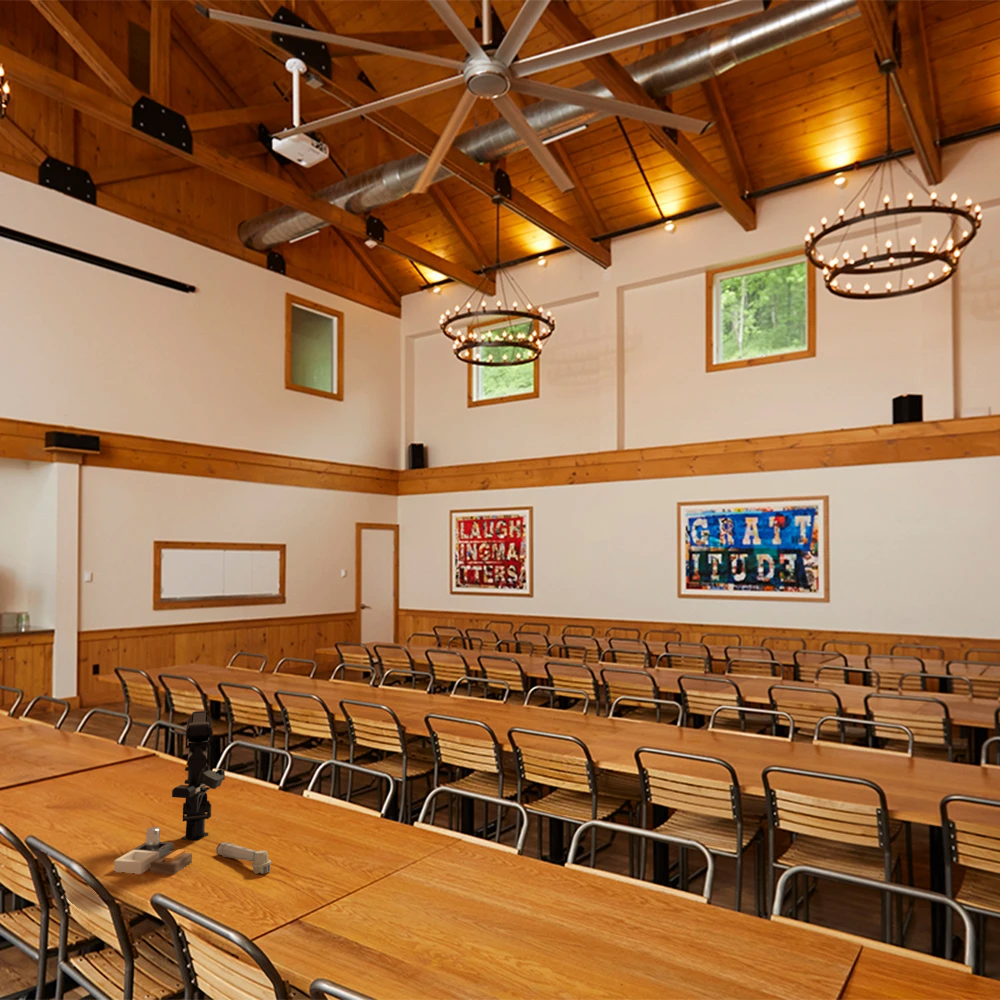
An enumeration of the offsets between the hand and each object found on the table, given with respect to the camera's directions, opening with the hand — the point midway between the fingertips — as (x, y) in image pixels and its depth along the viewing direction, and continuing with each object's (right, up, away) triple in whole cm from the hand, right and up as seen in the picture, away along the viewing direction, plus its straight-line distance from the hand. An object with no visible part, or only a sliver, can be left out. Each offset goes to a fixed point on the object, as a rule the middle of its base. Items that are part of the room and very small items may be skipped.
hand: (195, 812), depth 251 cm
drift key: (-2, -12, -11) cm, 17 cm away
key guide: (-2, -12, -13) cm, 17 cm away
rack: (-13, -12, -13) cm, 22 cm away
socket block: (-13, -13, -2) cm, 18 cm away
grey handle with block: (+19, -13, -9) cm, 24 cm away
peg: (-13, -13, -2) cm, 18 cm away
